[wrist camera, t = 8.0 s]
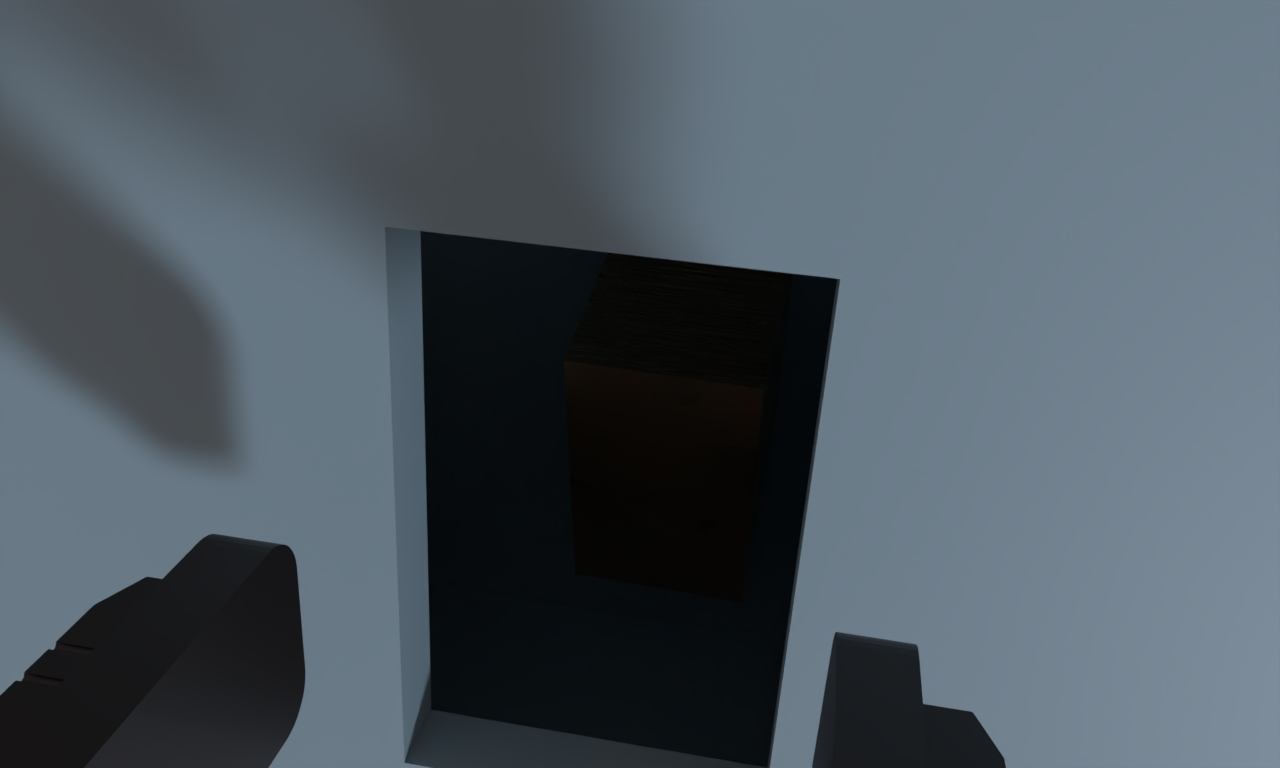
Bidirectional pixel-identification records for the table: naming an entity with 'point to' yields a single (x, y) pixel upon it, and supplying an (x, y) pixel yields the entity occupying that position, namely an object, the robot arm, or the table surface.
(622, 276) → the brown rectangular block
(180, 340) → the box
